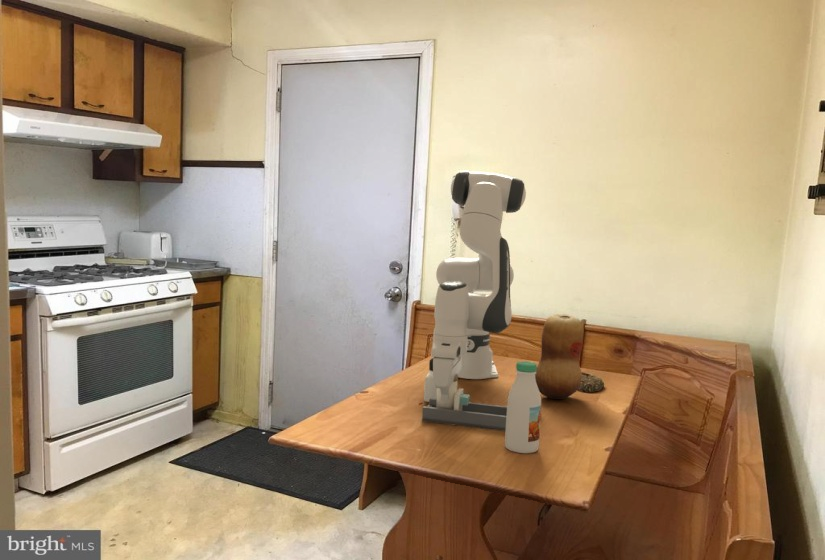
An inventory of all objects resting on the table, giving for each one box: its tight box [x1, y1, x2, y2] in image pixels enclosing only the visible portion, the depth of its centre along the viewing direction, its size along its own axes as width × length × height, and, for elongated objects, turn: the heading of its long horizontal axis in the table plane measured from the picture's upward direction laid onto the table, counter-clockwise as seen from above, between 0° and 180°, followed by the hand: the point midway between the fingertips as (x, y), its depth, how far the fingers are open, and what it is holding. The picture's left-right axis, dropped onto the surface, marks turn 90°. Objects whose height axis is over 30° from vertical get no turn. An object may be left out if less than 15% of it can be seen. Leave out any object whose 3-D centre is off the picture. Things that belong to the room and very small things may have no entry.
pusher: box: [454, 388, 471, 411], centre depth 166 cm, size 6×3×6 cm, turn 166°
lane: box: [421, 398, 507, 432], centre depth 165 cm, size 9×24×8 cm, turn 76°
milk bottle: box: [504, 360, 542, 454], centre depth 147 cm, size 8×8×20 cm
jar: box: [436, 374, 459, 410], centre depth 167 cm, size 5×5×9 cm
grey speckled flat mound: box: [576, 371, 605, 394], centre depth 205 cm, size 13×12×5 cm
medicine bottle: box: [423, 357, 437, 403], centre depth 183 cm, size 7×7×12 cm
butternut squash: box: [535, 313, 585, 400], centre depth 189 cm, size 14×13×25 cm
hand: (447, 397), depth 167 cm, fingers closed on jar, 5 cm apart
